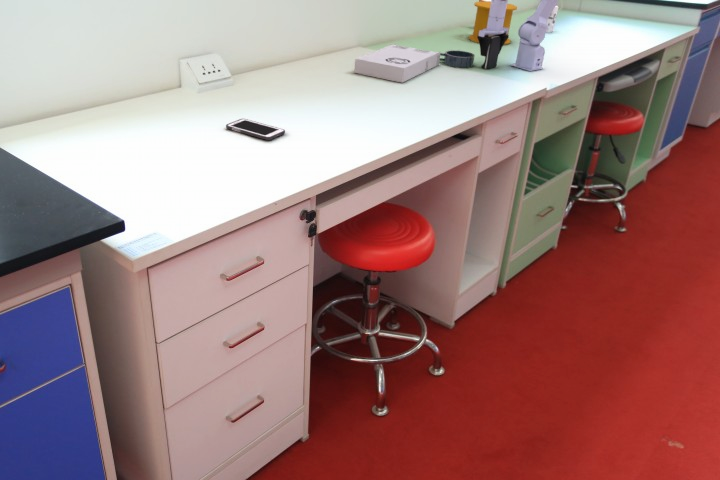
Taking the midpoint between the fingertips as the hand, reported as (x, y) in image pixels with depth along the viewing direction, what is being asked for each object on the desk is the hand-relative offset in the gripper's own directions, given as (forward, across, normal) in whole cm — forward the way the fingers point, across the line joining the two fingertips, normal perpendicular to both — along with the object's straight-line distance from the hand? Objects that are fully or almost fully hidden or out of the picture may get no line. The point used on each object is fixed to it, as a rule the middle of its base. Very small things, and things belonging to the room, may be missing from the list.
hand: (489, 54), depth 253 cm
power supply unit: (+5, -34, +14) cm, 37 cm away
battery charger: (+5, 0, 0) cm, 5 cm away
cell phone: (+5, -116, -17) cm, 117 cm away
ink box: (+5, +82, +35) cm, 89 cm away
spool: (+5, +39, +32) cm, 50 cm away
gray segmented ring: (+5, -8, +10) cm, 13 cm away
